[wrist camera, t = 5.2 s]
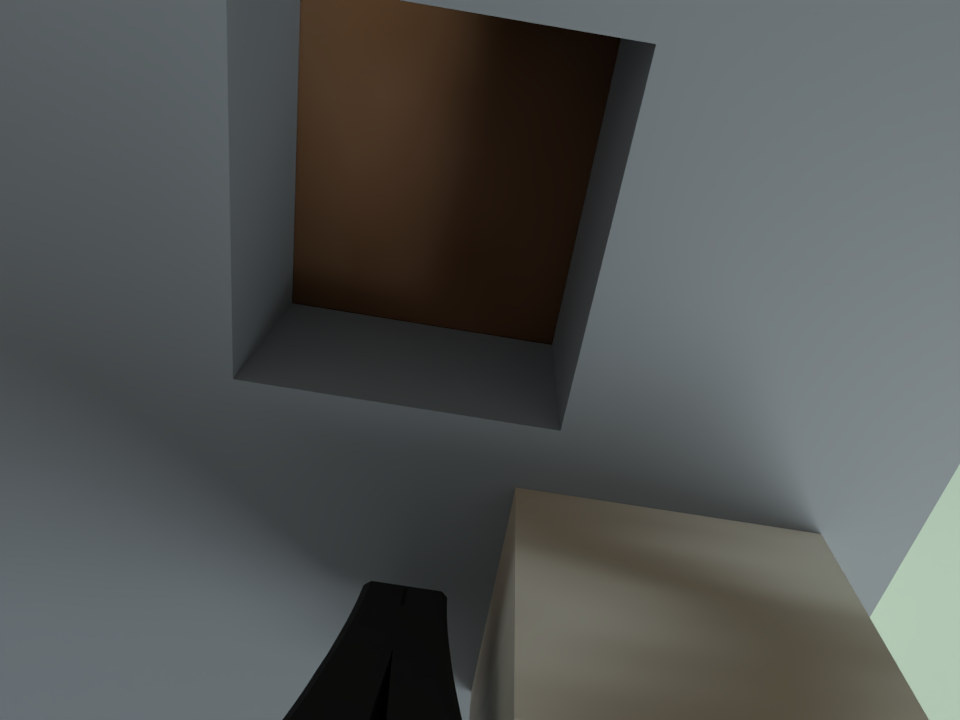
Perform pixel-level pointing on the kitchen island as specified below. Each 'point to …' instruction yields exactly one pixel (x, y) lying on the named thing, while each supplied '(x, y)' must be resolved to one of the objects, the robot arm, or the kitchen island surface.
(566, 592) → the birch block
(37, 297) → the trap board
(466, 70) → the kitchen island surface
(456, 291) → the kitchen island surface
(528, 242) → the kitchen island surface
